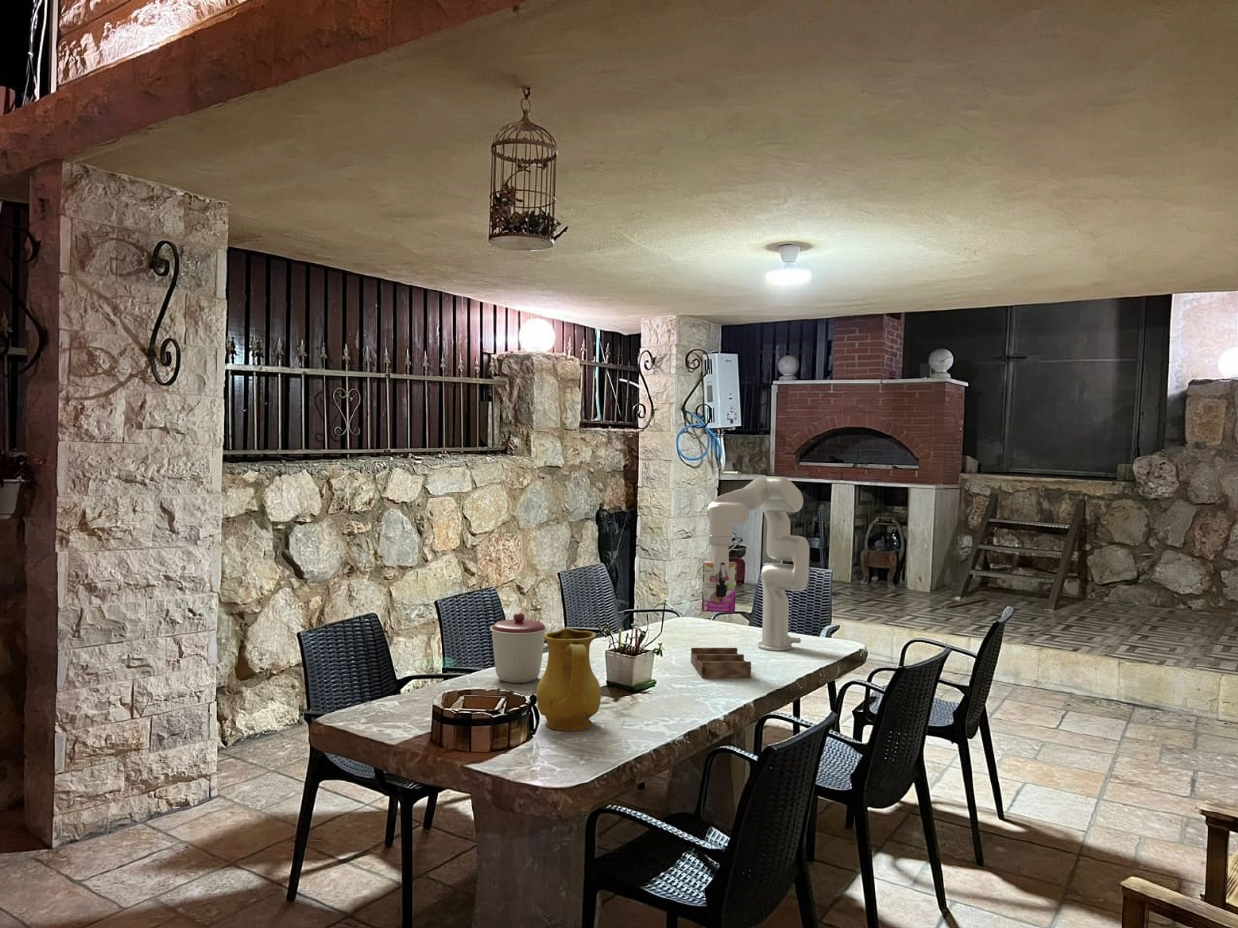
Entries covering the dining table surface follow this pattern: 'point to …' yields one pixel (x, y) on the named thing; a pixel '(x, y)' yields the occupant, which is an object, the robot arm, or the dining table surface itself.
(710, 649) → the rack
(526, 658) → the canister
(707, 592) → the candy bar box
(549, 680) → the pitcher
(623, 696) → the dining table surface
